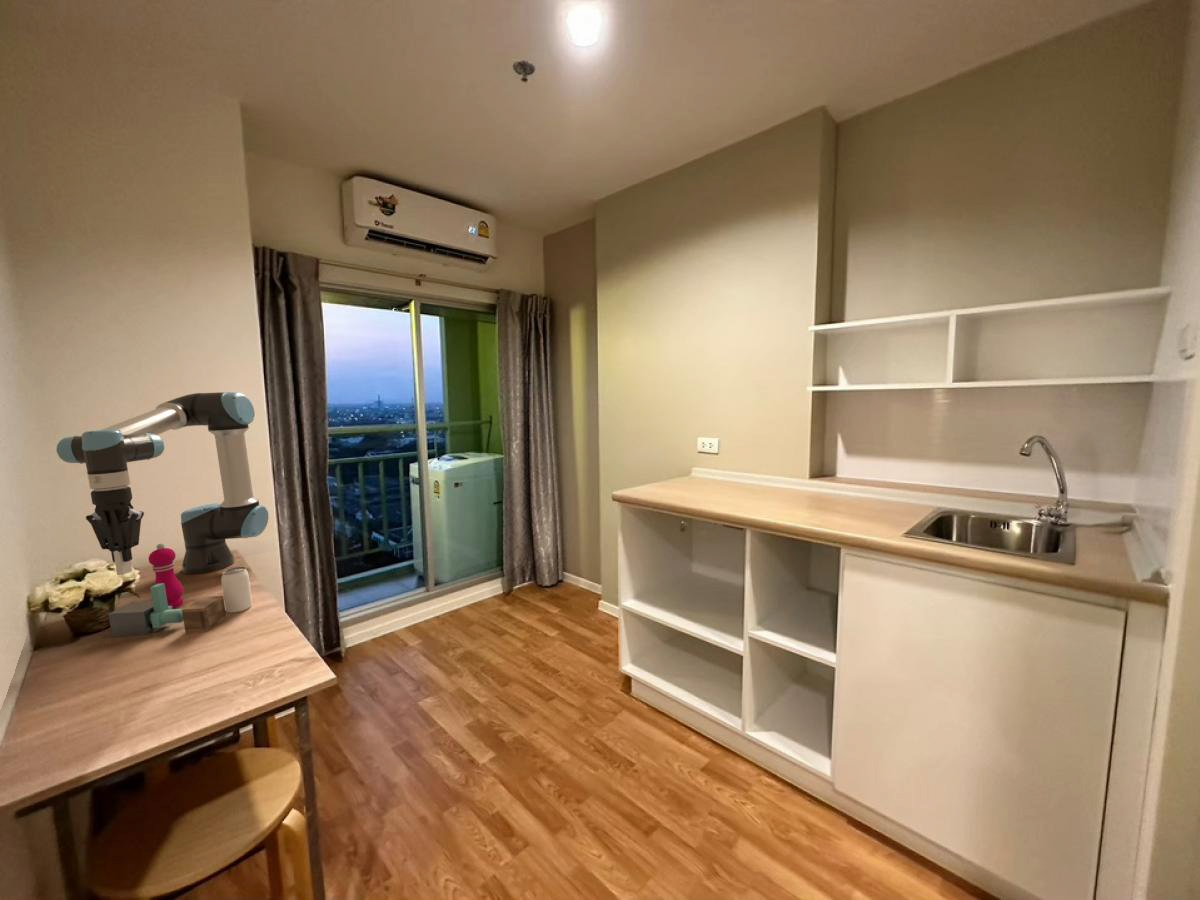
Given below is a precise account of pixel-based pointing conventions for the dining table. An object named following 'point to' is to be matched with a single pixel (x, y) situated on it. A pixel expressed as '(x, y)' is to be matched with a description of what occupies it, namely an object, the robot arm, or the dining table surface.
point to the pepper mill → (167, 574)
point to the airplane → (162, 608)
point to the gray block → (132, 619)
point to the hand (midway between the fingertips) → (124, 572)
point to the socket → (204, 614)
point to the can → (236, 589)
